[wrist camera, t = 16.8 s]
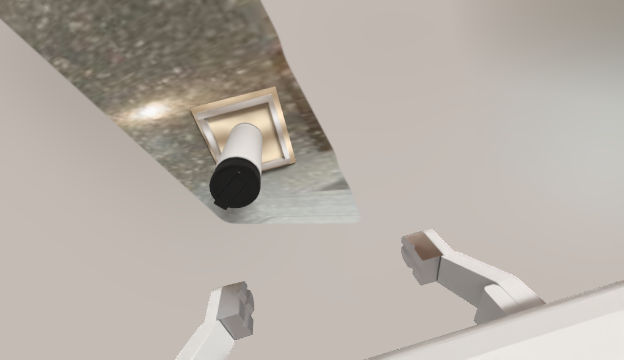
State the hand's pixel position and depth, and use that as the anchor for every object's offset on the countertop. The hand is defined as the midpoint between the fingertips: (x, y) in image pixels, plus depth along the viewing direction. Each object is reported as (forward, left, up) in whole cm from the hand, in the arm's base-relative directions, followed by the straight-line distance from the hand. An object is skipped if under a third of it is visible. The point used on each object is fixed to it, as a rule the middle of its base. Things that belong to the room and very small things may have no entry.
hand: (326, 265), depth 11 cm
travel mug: (+4, -9, -38) cm, 39 cm away
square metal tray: (+4, -8, -39) cm, 40 cm away
